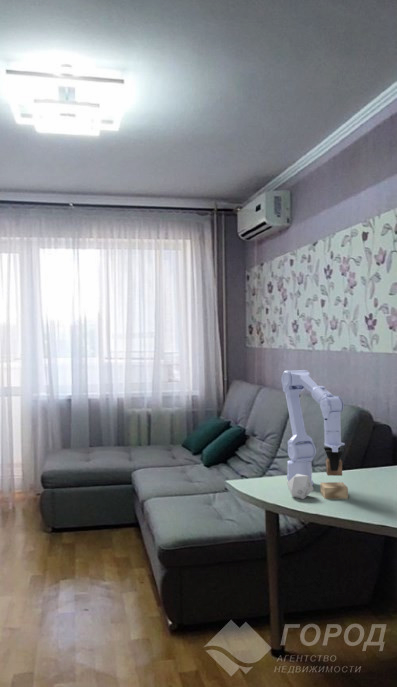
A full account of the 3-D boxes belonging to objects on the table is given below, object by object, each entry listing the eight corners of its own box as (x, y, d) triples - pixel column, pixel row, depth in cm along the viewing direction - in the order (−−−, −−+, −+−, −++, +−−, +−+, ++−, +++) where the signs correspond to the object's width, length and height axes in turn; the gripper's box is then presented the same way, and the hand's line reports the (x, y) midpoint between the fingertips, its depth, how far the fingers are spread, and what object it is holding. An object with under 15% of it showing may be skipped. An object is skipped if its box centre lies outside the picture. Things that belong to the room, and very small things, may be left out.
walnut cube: (327, 475, 200) (327, 461, 200) (326, 472, 205) (325, 458, 205) (342, 475, 200) (341, 461, 200) (340, 472, 205) (340, 458, 205)
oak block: (324, 499, 198) (324, 487, 198) (320, 493, 206) (320, 482, 206) (348, 499, 198) (347, 487, 198) (342, 493, 206) (342, 482, 206)
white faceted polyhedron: (291, 502, 196) (308, 481, 194) (278, 486, 203) (294, 465, 201) (306, 507, 201) (322, 486, 199) (292, 490, 208) (308, 470, 206)
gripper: (346, 433, 195) (347, 473, 195) (341, 427, 209) (342, 464, 209) (325, 433, 196) (326, 473, 196) (321, 427, 210) (322, 464, 210)
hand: (333, 468), depth 202 cm, fingers closed on walnut cube, 5 cm apart
